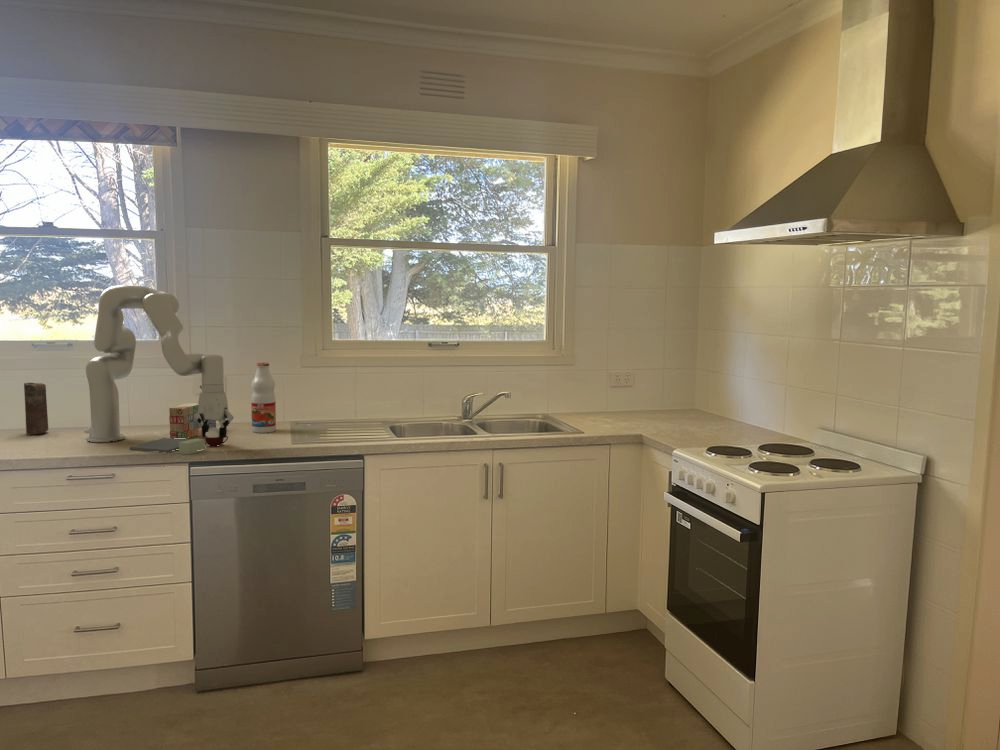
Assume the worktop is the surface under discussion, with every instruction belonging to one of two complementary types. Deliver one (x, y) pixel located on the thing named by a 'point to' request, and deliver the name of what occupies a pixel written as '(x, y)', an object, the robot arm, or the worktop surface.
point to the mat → (159, 445)
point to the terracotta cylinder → (201, 433)
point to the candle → (35, 408)
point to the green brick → (191, 446)
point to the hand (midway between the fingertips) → (214, 436)
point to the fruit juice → (263, 400)
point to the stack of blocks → (185, 421)
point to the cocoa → (213, 435)
